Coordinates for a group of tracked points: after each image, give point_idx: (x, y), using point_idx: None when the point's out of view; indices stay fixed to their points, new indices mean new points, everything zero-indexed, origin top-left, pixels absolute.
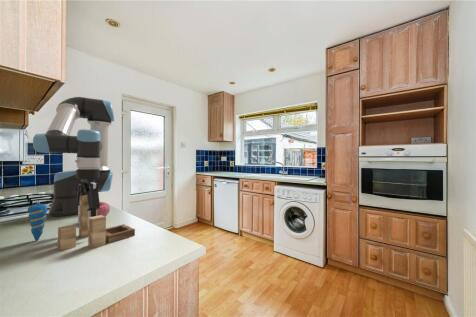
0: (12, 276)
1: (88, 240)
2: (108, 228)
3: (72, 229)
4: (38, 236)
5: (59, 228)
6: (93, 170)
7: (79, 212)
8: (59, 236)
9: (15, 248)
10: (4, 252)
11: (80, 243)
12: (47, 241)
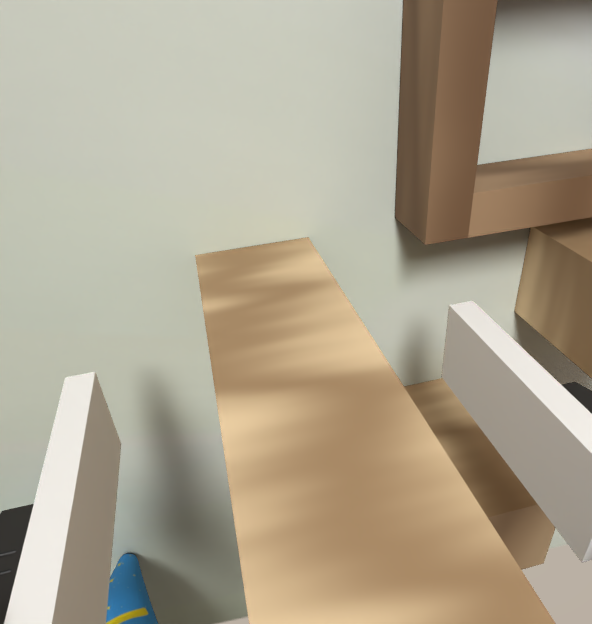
0: (555, 535)
1: (546, 333)
2: (452, 137)
3: None
4: (143, 581)
5: None
6: None
7: (110, 557)
8: None
9: (208, 601)
10: (239, 618)
11: (428, 348)
12: (197, 507)
